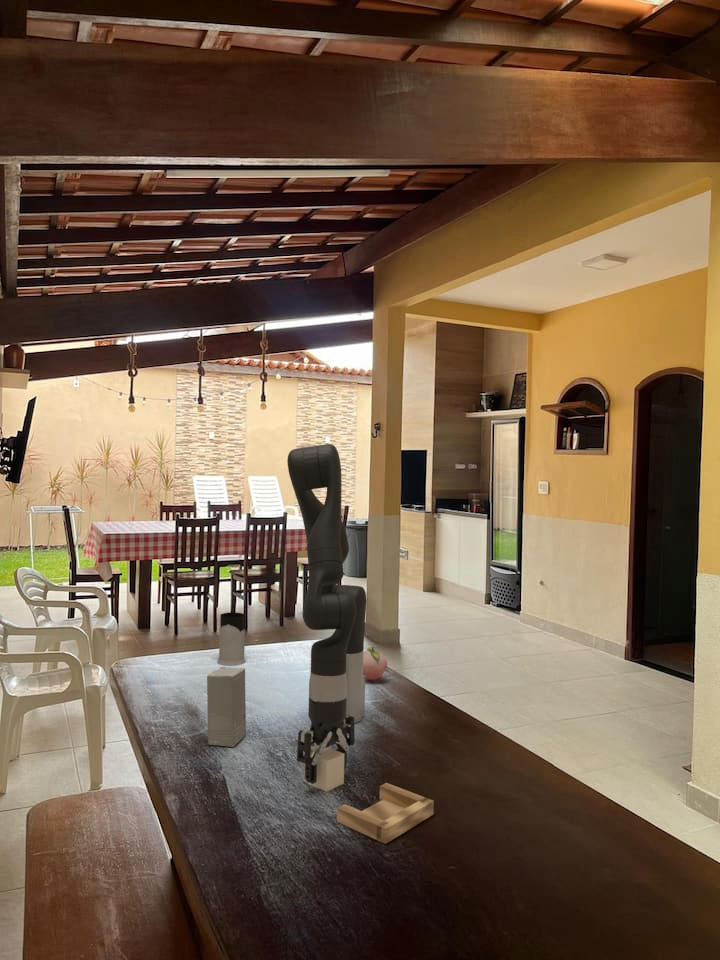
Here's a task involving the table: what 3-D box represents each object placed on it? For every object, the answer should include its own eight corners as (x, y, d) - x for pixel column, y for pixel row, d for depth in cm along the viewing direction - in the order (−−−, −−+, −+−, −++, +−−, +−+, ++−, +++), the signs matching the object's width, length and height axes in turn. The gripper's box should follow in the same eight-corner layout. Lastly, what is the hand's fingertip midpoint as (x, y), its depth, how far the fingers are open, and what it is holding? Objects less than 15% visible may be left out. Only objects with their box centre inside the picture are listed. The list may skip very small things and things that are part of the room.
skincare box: (234, 748, 160) (235, 677, 160) (203, 745, 162) (205, 674, 162) (247, 734, 169) (248, 667, 168) (218, 731, 170) (219, 664, 170)
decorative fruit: (351, 678, 215) (352, 644, 215) (376, 675, 219) (377, 642, 219) (365, 687, 207) (366, 652, 207) (390, 684, 210) (391, 649, 210)
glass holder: (213, 664, 226) (214, 616, 226) (229, 653, 240) (229, 608, 240) (240, 666, 225) (241, 618, 225) (254, 655, 239) (255, 609, 239)
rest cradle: (385, 795, 139) (386, 782, 139) (433, 814, 132) (433, 800, 132) (336, 821, 128) (337, 807, 128) (385, 843, 121) (386, 829, 121)
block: (325, 776, 147) (326, 746, 147) (343, 783, 144) (344, 753, 144) (308, 784, 144) (308, 754, 143) (326, 791, 140) (327, 761, 140)
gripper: (337, 682, 151) (336, 759, 152) (288, 698, 140) (286, 781, 141) (365, 690, 146) (363, 770, 147) (316, 707, 136) (314, 793, 136)
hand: (326, 775), depth 144 cm, fingers open, 8 cm apart
